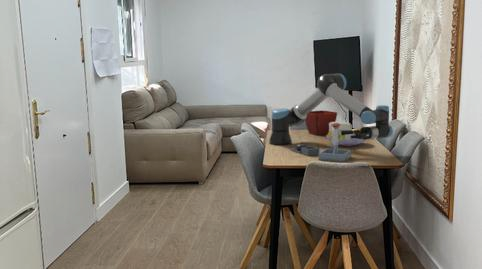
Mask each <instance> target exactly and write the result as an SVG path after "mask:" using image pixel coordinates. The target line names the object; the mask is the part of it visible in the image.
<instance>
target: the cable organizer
mask: <svg viewBox="0 0 482 269" xmlns="http://www.w3.org/2000/svg"><path fill="white" fill-rule="evenodd" d="M332 123H339V124H340V126H339V130H353V129H352V128H353V127H352V126H353V125H352V124H351V123H350V122H348V121H336V122H331V123H329V131H331V130H332V126H331V124H332Z"/></svg>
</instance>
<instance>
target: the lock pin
mask: <svg viewBox="0 0 482 269" xmlns="http://www.w3.org/2000/svg"><path fill="white" fill-rule="evenodd" d="M331 126H332V142H331V149H332V154H338V149H339V145H338V143H339V126H340V124H339V123H332V124H331Z"/></svg>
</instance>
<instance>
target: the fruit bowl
mask: <svg viewBox="0 0 482 269" xmlns="http://www.w3.org/2000/svg"><path fill="white" fill-rule="evenodd" d="M360 129H361V128H353V129H352V130H359V131H360ZM331 132H332V130H331V131H329V133H328V134H326V135H325V137H326V139H327V140H328V141H329V142H330V143H332V136H331ZM365 141H366V140H363V139H359V138H358V139H356V138H355V139H349V140H345V135H341V136H339V143H338V146H342V147H352V146H358V145H360V144H362V143H364V142H365Z"/></svg>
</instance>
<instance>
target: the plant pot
mask: <svg viewBox="0 0 482 269" xmlns="http://www.w3.org/2000/svg"><path fill="white" fill-rule="evenodd" d="M337 116H338V112H336V111H330V110H312V111H311V112H309V113H308V114H307V117H306V119H305V121H304V123H305V126H306V129H307V131H308V134H311V135H315V136H316V135H317V136H322V135H323V136H324V135H325V136H326V135H328V133H329V123H331V122H337Z"/></svg>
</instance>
